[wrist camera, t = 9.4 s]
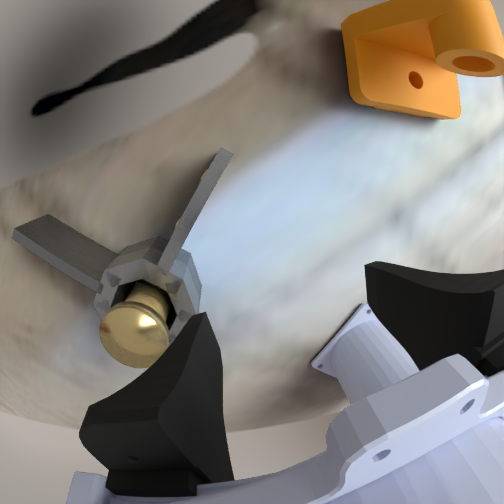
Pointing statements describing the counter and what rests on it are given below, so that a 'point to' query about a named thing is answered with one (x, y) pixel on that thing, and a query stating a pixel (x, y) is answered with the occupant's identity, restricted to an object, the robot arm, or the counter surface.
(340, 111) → the counter surface
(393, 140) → the counter surface
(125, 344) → the hinge pin
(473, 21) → the bracket
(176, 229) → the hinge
